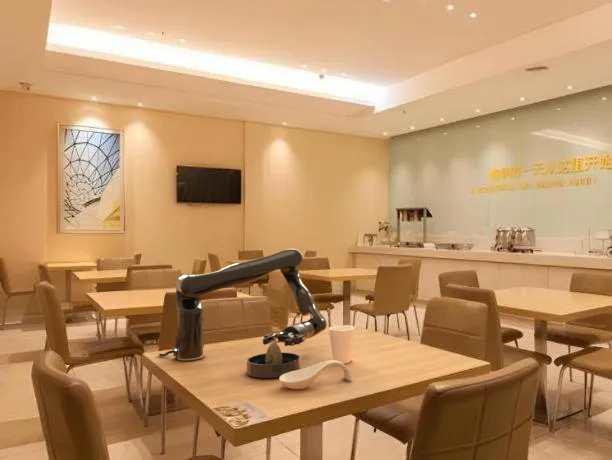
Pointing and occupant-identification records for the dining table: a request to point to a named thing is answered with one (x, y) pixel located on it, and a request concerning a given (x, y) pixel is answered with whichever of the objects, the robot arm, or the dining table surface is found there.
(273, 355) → the decorative egg
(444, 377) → the dining table surface
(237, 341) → the dining table surface
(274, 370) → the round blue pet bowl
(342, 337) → the foam cup
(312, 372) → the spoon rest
